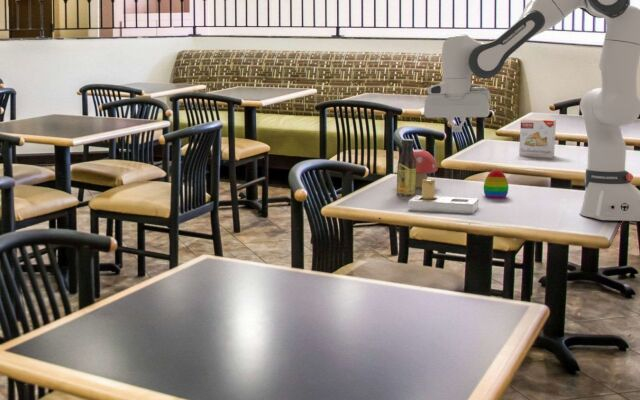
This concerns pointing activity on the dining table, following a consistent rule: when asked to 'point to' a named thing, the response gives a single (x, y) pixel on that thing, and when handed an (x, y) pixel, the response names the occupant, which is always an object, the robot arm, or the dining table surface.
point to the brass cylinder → (428, 189)
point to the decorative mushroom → (423, 166)
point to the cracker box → (537, 138)
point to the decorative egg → (496, 185)
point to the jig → (444, 204)
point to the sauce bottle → (406, 169)
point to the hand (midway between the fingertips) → (456, 131)
